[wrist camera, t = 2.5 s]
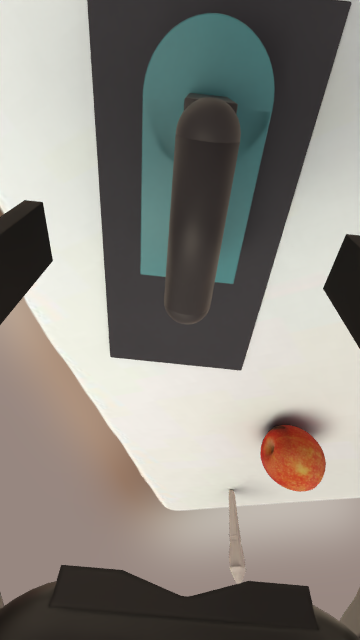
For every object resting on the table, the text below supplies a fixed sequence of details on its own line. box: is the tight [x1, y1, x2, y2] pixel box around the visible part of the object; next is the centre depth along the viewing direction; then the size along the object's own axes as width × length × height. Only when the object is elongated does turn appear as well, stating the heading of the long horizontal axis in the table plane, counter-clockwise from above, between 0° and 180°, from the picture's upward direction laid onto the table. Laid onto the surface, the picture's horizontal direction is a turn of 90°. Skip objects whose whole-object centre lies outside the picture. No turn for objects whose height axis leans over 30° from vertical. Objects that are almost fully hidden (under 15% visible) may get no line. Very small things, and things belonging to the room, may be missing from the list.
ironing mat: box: [87, 0, 351, 370], centre depth 29 cm, size 32×16×1 cm, turn 175°
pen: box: [229, 490, 246, 584], centre depth 53 cm, size 2×3×14 cm
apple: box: [261, 425, 326, 491], centre depth 43 cm, size 8×8×8 cm
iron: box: [140, 13, 275, 324], centre depth 19 cm, size 16×8×14 cm, turn 175°
